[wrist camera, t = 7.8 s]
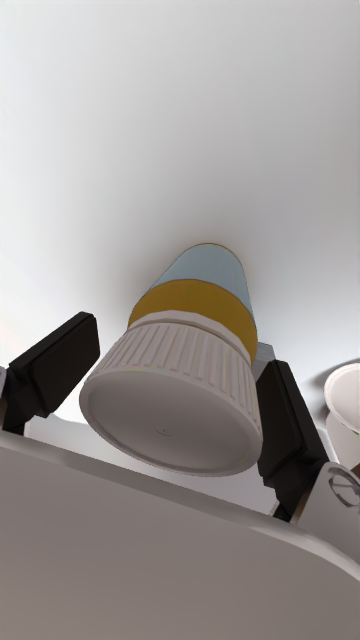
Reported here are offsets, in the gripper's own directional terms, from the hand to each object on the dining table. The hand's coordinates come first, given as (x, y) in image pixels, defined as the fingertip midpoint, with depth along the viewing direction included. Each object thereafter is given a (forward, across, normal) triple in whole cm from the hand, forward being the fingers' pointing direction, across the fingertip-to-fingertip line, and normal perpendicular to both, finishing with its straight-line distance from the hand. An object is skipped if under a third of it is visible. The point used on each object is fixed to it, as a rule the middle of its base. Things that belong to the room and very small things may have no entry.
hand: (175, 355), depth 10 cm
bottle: (+11, -1, -1) cm, 11 cm away
